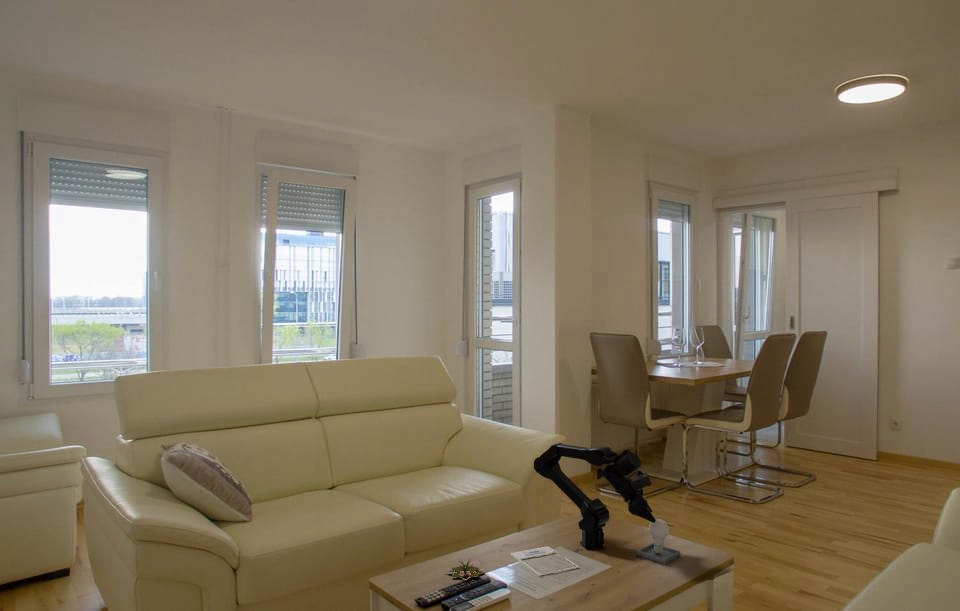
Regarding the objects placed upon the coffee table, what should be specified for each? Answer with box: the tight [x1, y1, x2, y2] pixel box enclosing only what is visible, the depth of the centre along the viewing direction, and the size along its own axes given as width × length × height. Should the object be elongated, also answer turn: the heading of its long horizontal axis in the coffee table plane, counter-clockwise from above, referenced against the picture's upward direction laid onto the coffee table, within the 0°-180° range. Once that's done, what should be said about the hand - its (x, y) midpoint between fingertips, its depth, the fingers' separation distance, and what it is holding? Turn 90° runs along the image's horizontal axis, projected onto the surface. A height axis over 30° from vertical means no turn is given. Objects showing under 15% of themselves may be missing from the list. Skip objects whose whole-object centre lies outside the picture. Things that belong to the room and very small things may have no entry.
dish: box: [636, 542, 681, 567], centre depth 199 cm, size 10×10×2 cm
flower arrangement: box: [448, 558, 486, 580], centre depth 184 cm, size 12×12×5 cm
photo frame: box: [509, 546, 580, 575], centre depth 194 cm, size 15×1×18 cm
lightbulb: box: [648, 518, 670, 554], centre depth 200 cm, size 6×6×11 cm
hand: (653, 516), depth 200 cm, fingers open, 9 cm apart
